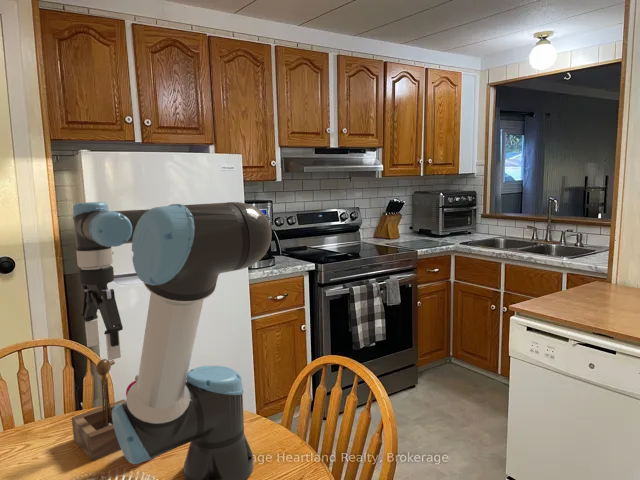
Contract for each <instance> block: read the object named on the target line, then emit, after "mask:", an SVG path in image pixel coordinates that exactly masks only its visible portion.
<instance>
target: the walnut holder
mask: <svg viewBox="0 0 640 480" xmlns="http://www.w3.org/2000/svg"><path fill="white" fill-rule="evenodd" d="M125 402H126V399H121V400H118V401H115V402H112V403H110V409H111V414H112V409H113V408H114V407H115V406H117V405H119V403H125ZM108 411H109V406H108ZM101 422H102V406H101V407H97V408H95V409H92V410H89V411H87V412H83V413H81V414H78V415H74V416H72V417H71V425H72V433H73V441H74V442H75V443H76V444H77V445H78V447H79V448H80V449H81V450H82V451H83V452H84V453H85V455H86V456H87V457H88V458H89V459H90V461H91V462H94V461H97V460H99V459H101V458H103V457H106V456H109V455H111V454H113V453H116V452H118V451H121V448H120V445H119V443H118V440H117V437H116V433H115V430H114V426H113V424H112V425H109V426H107V427H104V428H102V429H100V427H101ZM109 422H112V420H111V417H110V412H109ZM105 423H106V419H105V405H104V419H103V424H105Z"/></svg>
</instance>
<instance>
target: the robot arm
mask: <svg viewBox="0 0 640 480" xmlns="http://www.w3.org/2000/svg"><path fill="white" fill-rule="evenodd" d="M72 206H73V208H72V209H73V210H72V211H73V214H72V215H73V216H72V220H73V224H74V235H75V245H76V252H75V253H76V260H77V266H78V267H79V270H78V278H79V280H78V281H79V284H80V285H81V286H82V299H81V310H80V311H81V312H80V316H81V318H83V321H84V326H85V337H86V347H87V348H90V347H94V346H99V345H100V335H99V325H98V318H99V316H98V314H97V313H98V310H99V313H100V315H101V318H102V320H103V321H102V322H103V324H104V326H105V328H106V329H105V330H104V333H103V334H104V335H105V341H106V342H105V343H106V353H107V360H109V362H110V361H112V360H116V359H120V358H121V356H122V355H121V345H120V331H123V328H124V327H123V323H122V320H121V316H120V311H119V308H118V304H117V301H116V295H115V290H114V288H110V289H109V287H108V284H109V283H111V282H113V281H115V272H114V266H112V264H113V262H114V261H113V255H114V253H115V251H113V249H112V247H114V248H115V247H120V246H122V245H125V244H131V252H133V255H132V264H133V265H132V266H133V268H134V272H135V274H136V276H137V277H138V278H139V280H140V281H141V282H142V283H143V285H144V287H145V288H146V289H147V290H148V291H149V293H150V296H149V301H148V302H149V304H148V311H147V317H146V324H145V329H144V334H143V335H144V337H143V343H142V350H141V355H140V356H141V357H140V364H139V368H138V370H139V371H138V374H139V376H138V381H137V382H135V383H134V384H133V385H132V387H131V388H130V389H129V391H128V394H127V397H125V398H126V399H125V401H126V402H125V403H119V405H117V406H115V407H114V408H113V409H112V421H113V426H114V430H115V433H116V437H117V440H118V443H119V445H120V448H121V449H120V451H121V452H122V454H123V457H124V458H125V459H126V461H128V462H129V463H130V464H131V465H138V464H141V463H145V462H144V461H146V462H148V461H147V460H149V461H152V460H153V459H154V458H157V457H159V456H162V455H163V454H166V453H168V452H171V451H172V450H174V449H177V448H180V447H181V446H183V445H186V444H189V446H188V449H187V453H186V456H185V460H184V463H183V479H184V480H247V479H249V477H250V475H252V473H253V470H254V455H253V451H252V449H251V445H249V442H248V439H247V437H246V435H245V421H244V395H243V394H244V389H243V388H244V387H243V381H242V376H241V375H240V373H239V372H238V371H237V370H235V369H234V368H231V367H227V366H222V365H204V366H202V365H201V366H198V367H194V368H192V369H191V370H189V369H190V364H191V359H192V354H193V351H194V345H195V341H196V337H197V336H196V335H197V332H198V327H199V322H200V318H201V317H200V316H201V312H202V309H203V304H204V300H206V299H208V298H209V297H211V295H212V294H214V292H215V291H216V290H215V289H216V288H217V282H218V277H219V276H220V274H223V273H229V272H234V271H240V270H244V269H247V268H249V267H252V266H253V265H255V264H257V263H259V261H261V260H262V258H263V257H265V255H266V254H267V252H268V251H269V249H270V246H271V242H272V238H273V237H272V233H273V231H272V226H271V224H270V221H269V218H267V216H266V214H265V213H264V212H263V211H262V210H261V209H259V208H258V207H256V206H255V205H252V204H250V203H249V204H248V203H245V202H241V201H239V202H238V201H230V202H229V201H228V202H214V203H200V204H199V203H197V204H181V203H173V204H172V203H171V204H169V205H167V206H166V205H164V206H156V207H151V209H147V208H146V209H131V210H110V211H109V205H108V204H107V202H104V201H93V202H89V201H88V202H76V203H74V205H72Z"/></svg>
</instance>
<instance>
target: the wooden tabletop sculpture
mask: <svg viewBox="0 0 640 480" xmlns="http://www.w3.org/2000/svg"><path fill="white" fill-rule="evenodd" d="M115 364H116V363H115V359H113V360H110V361H109V360H108V358H103V359H100V360H99V361H98V362H97V365H96V366H95V367H96V368H95V371H96V373H97V374H98V375H99V376H102V377H101V378H100V383H101V398H102V399H101V400H102V404H101V405H102V406H101V407H102V422H101V427H100V429H102V428H104V427H107V426H109V425H112V424H113V421H112V422H109V412H110V417H111V420H112V414H111V409H110V404H111V402H110V393H109V377H108V376H107V374H108V373H109V372H110V371H111V368H112V366H113V365H115ZM104 406H105V419H106V423H105V424H103V419H104ZM108 406H109V411H108Z"/></svg>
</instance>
